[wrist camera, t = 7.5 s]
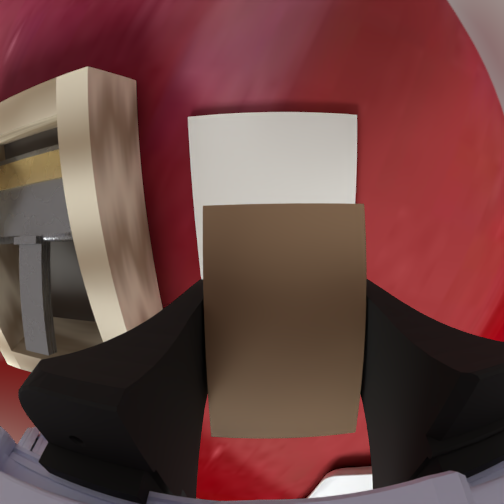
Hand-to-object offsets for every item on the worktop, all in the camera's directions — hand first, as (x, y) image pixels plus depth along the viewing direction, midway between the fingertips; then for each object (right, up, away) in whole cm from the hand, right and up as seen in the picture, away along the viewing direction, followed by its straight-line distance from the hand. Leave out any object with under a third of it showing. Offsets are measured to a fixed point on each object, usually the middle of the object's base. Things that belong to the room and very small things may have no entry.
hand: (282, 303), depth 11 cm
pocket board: (-16, +4, +9) cm, 19 cm away
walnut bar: (0, 0, -1) cm, 1 cm away
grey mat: (0, +4, +9) cm, 9 cm away
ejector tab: (-16, +2, +6) cm, 17 cm away
